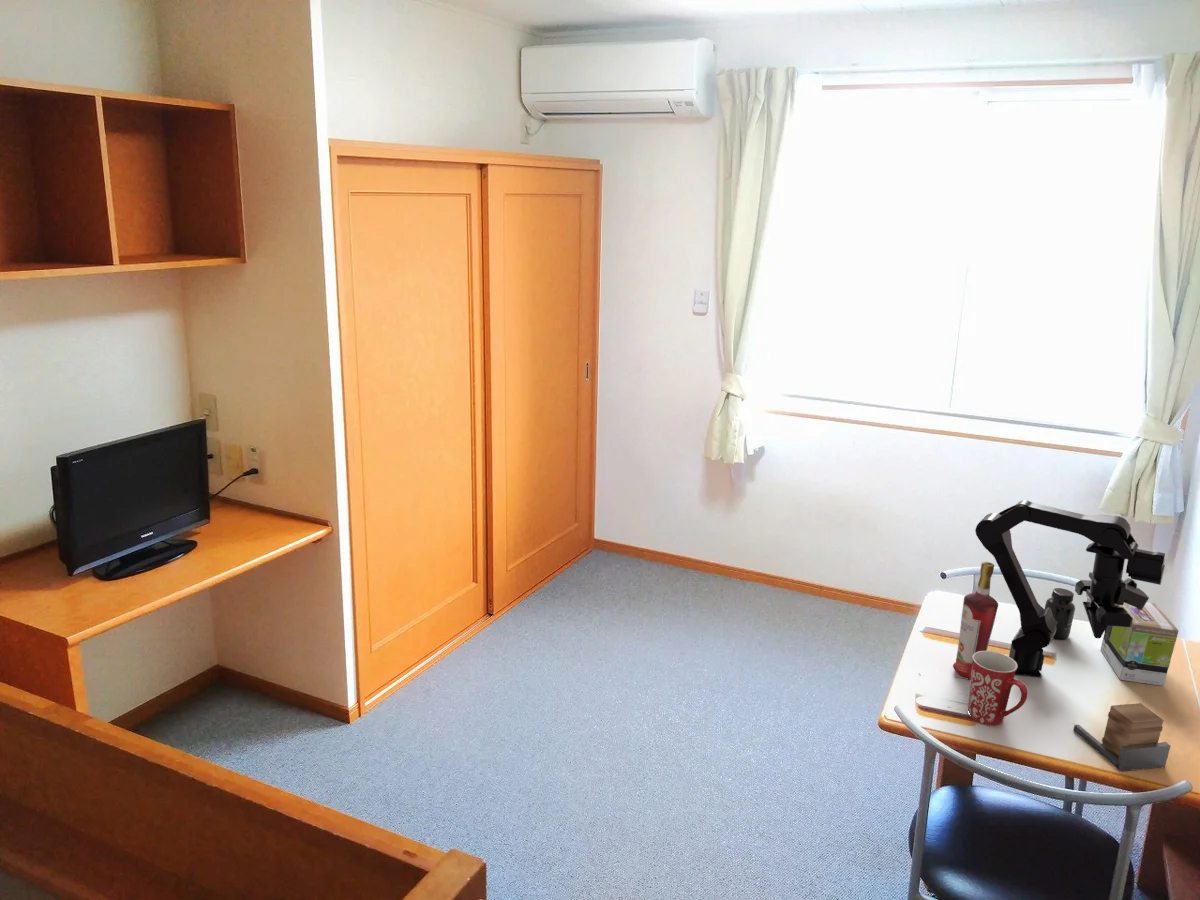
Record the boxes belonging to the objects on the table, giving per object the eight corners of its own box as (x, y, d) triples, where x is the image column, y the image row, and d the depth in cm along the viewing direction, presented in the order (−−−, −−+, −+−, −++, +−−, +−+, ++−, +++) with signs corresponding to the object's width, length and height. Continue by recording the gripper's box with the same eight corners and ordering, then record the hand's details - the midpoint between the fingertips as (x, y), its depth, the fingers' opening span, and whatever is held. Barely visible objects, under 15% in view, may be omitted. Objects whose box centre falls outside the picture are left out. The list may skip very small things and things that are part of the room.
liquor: (944, 667, 216) (963, 558, 207) (971, 664, 218) (991, 556, 209) (963, 684, 209) (984, 572, 201) (991, 680, 211) (1012, 570, 202)
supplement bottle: (1072, 642, 230) (1081, 599, 227) (1043, 638, 232) (1052, 596, 228) (1064, 629, 237) (1073, 587, 233) (1036, 626, 238) (1045, 584, 234)
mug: (952, 710, 198) (962, 655, 194) (981, 700, 203) (991, 646, 199) (1001, 742, 188) (1013, 684, 184) (1030, 731, 192) (1042, 675, 188)
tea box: (1165, 687, 212) (1180, 630, 207) (1118, 680, 213) (1132, 624, 209) (1142, 655, 226) (1156, 601, 221) (1098, 649, 228) (1111, 595, 223)
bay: (1073, 730, 193) (1077, 709, 191) (1115, 726, 195) (1120, 706, 194) (1120, 771, 180) (1126, 749, 179) (1164, 767, 182) (1170, 745, 181)
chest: (1100, 747, 187) (1110, 705, 184) (1130, 744, 189) (1141, 702, 186) (1122, 766, 182) (1133, 723, 179) (1153, 763, 183) (1164, 720, 180)
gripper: (1164, 593, 191) (1152, 660, 195) (1131, 559, 208) (1121, 622, 213) (1106, 589, 193) (1096, 656, 197) (1079, 556, 210) (1069, 618, 215)
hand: (1097, 637), depth 205 cm, fingers closed
